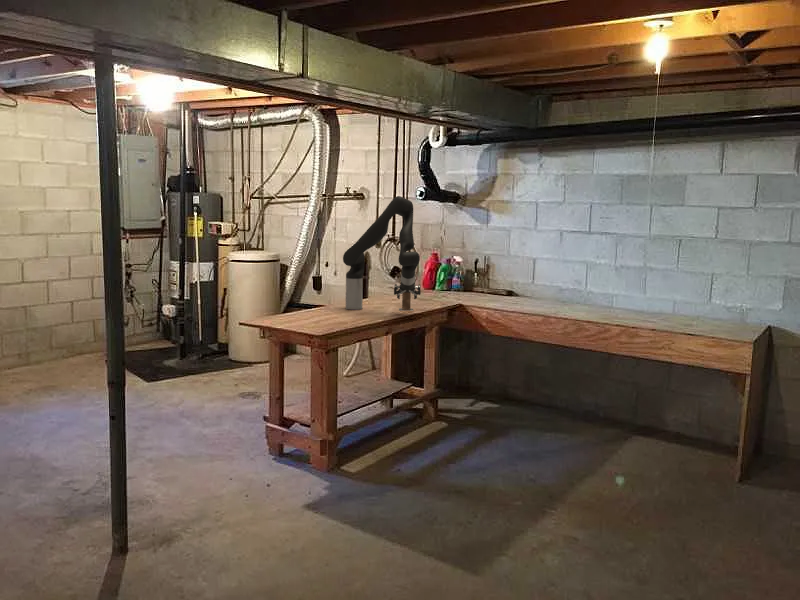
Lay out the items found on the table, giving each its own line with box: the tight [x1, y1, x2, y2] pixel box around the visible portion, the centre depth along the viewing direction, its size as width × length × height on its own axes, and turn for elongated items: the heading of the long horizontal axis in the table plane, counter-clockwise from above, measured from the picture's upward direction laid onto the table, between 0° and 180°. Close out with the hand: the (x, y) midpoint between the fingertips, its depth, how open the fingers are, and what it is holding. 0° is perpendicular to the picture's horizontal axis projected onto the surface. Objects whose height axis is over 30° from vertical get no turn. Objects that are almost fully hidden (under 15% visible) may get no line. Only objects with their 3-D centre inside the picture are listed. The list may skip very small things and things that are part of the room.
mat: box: [398, 307, 414, 312], centre depth 373 cm, size 8×8×1 cm
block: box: [401, 292, 412, 310], centre depth 372 cm, size 4×4×11 cm
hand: (406, 298), depth 361 cm, fingers open, 8 cm apart
